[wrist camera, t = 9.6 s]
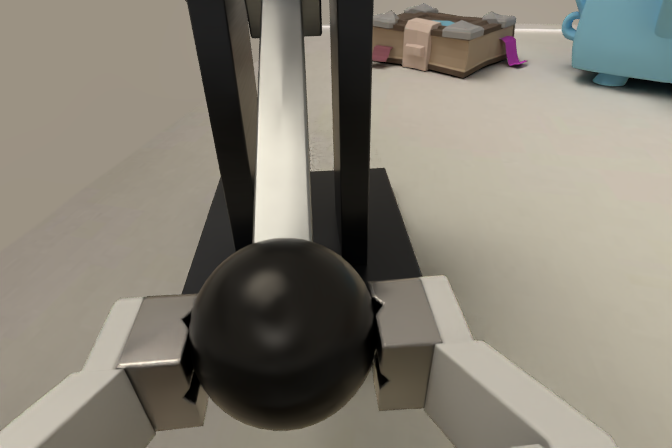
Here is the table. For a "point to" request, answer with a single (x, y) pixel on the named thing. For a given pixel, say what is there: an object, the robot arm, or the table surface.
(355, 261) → the switch bracket
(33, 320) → the table surface
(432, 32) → the book
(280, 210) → the lever
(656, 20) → the teapot
